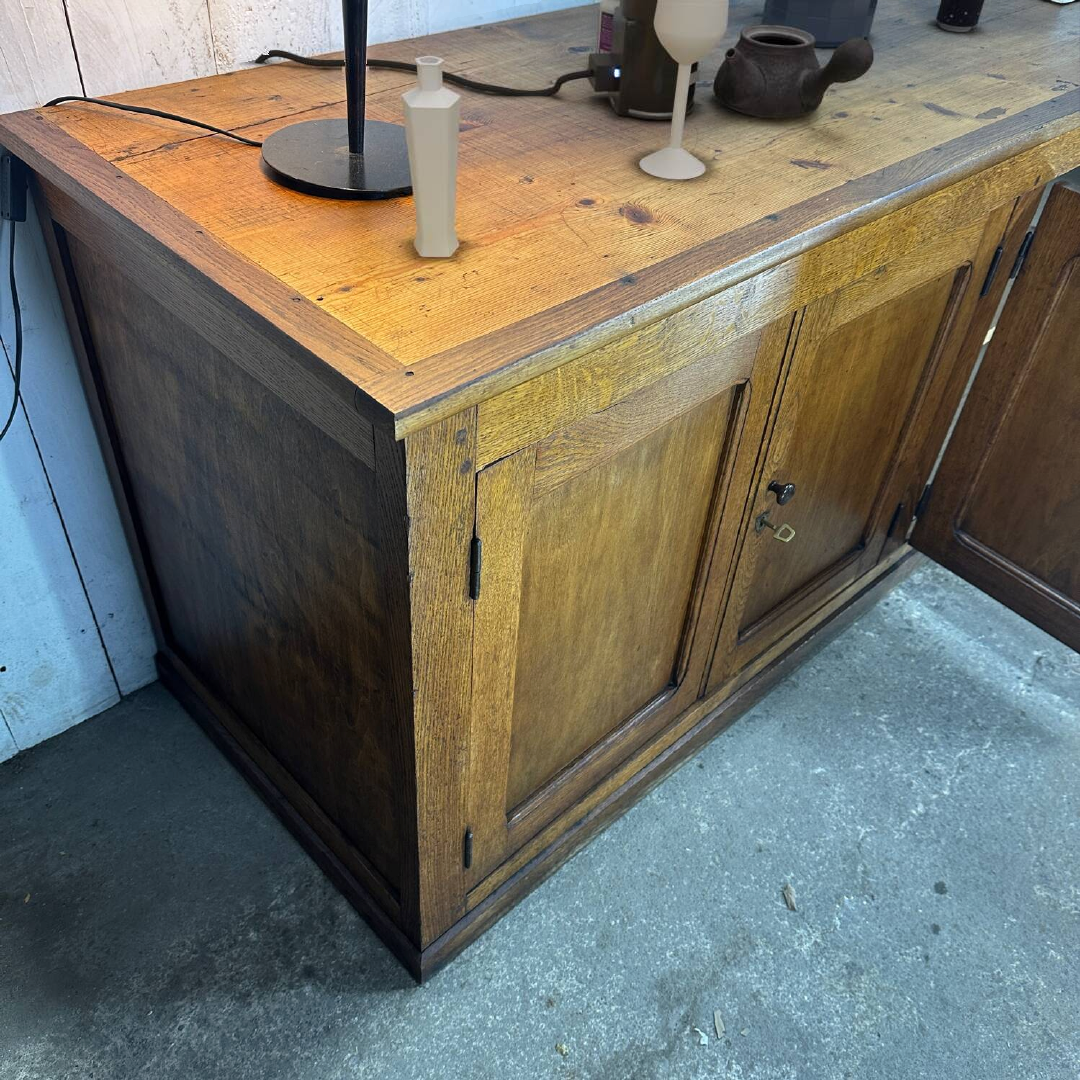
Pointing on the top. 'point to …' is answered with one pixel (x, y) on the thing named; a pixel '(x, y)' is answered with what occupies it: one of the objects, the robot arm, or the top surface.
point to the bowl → (823, 18)
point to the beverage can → (959, 14)
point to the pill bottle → (605, 25)
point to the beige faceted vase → (433, 157)
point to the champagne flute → (684, 72)
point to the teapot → (784, 71)
